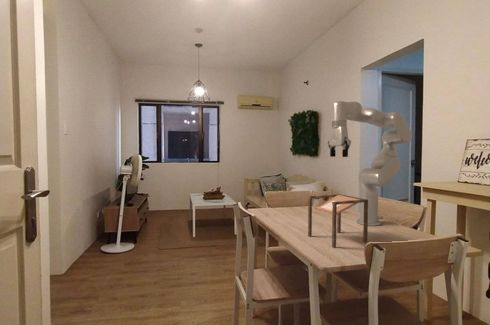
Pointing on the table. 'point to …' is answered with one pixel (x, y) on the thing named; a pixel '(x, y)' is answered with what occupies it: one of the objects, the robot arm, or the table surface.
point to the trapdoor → (328, 206)
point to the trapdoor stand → (338, 216)
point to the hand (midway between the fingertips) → (338, 156)
